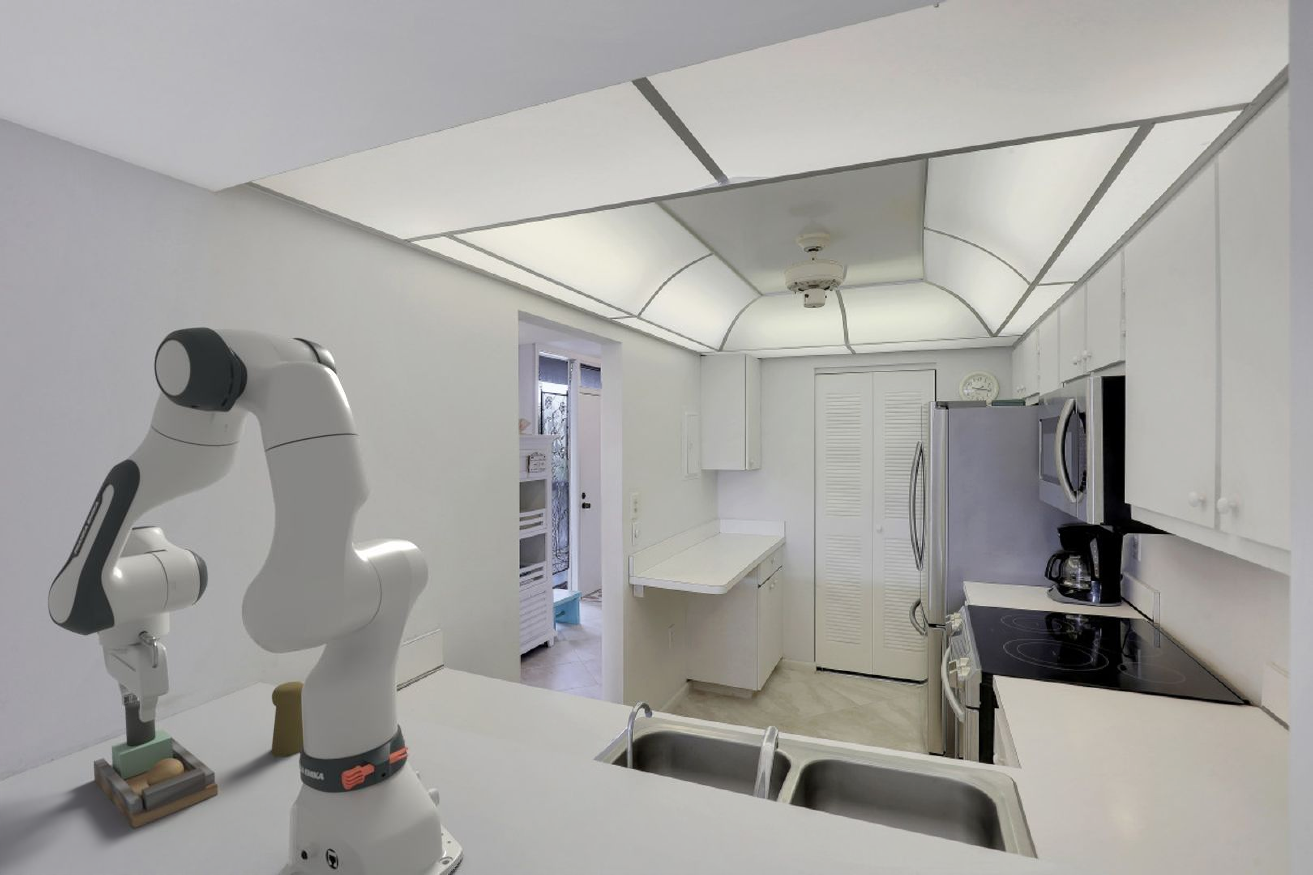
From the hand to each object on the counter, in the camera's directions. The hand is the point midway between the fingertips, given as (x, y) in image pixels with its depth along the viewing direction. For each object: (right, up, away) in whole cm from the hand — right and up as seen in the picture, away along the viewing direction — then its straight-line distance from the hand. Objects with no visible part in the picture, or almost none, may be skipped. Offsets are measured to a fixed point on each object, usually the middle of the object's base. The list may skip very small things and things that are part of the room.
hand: (138, 712), depth 102 cm
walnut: (+10, -6, -7) cm, 14 cm away
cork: (+20, -10, +8) cm, 24 cm away
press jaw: (+1, -9, 0) cm, 9 cm away
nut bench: (+5, -10, -4) cm, 12 cm away
